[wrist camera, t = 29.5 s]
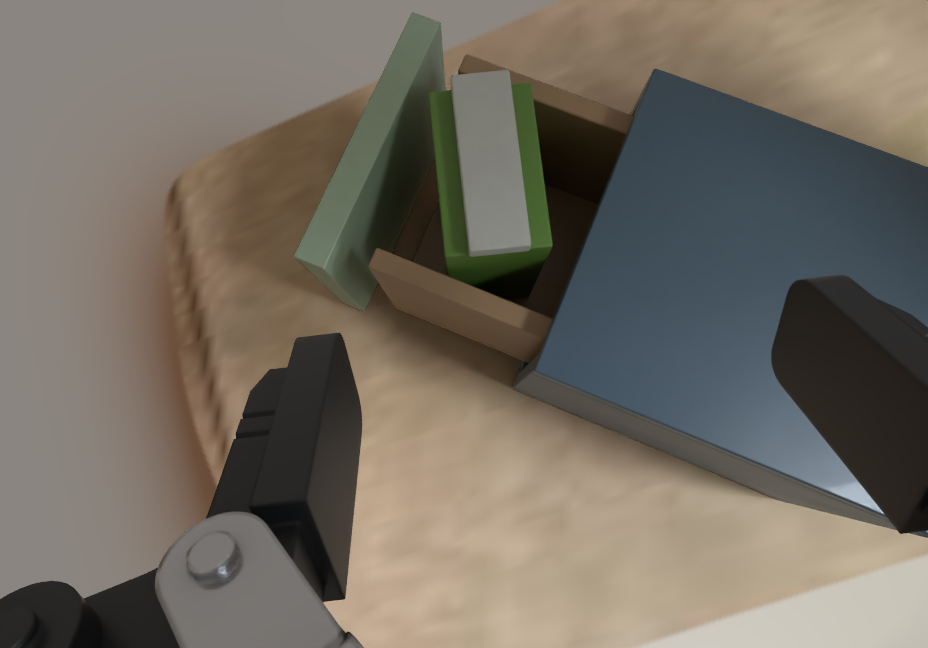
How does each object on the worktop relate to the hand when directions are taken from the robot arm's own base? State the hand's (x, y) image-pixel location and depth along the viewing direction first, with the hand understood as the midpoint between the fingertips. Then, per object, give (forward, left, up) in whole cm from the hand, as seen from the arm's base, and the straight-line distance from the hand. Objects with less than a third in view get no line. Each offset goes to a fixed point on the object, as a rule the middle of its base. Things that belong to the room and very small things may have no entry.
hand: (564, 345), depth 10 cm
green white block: (+4, -6, -16) cm, 17 cm away
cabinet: (-7, -6, -18) cm, 20 cm away
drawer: (+3, -6, -17) cm, 18 cm away
